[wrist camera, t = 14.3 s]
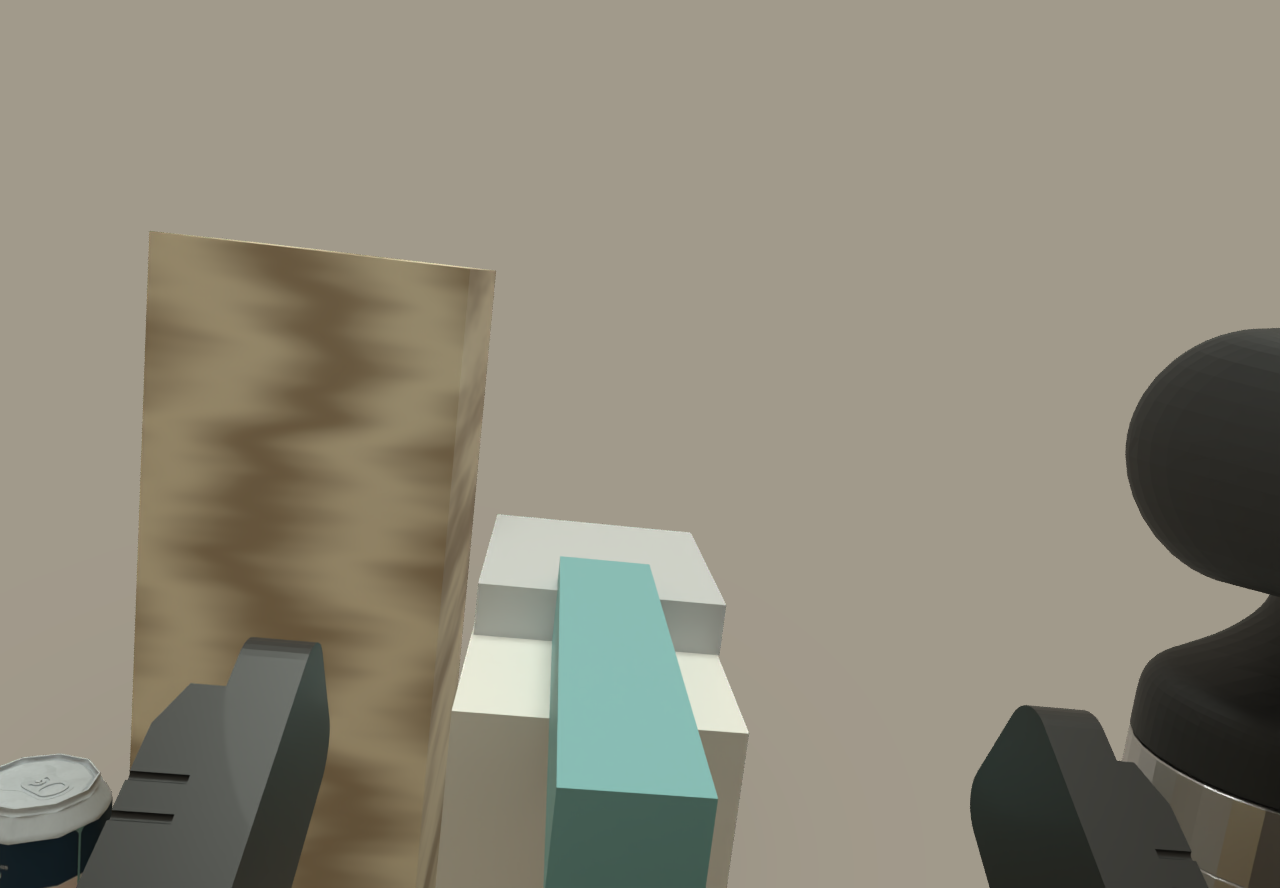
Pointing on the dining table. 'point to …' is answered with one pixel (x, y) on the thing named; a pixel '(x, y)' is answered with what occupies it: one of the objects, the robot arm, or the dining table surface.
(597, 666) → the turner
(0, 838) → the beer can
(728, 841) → the white block
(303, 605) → the tall wooden block
